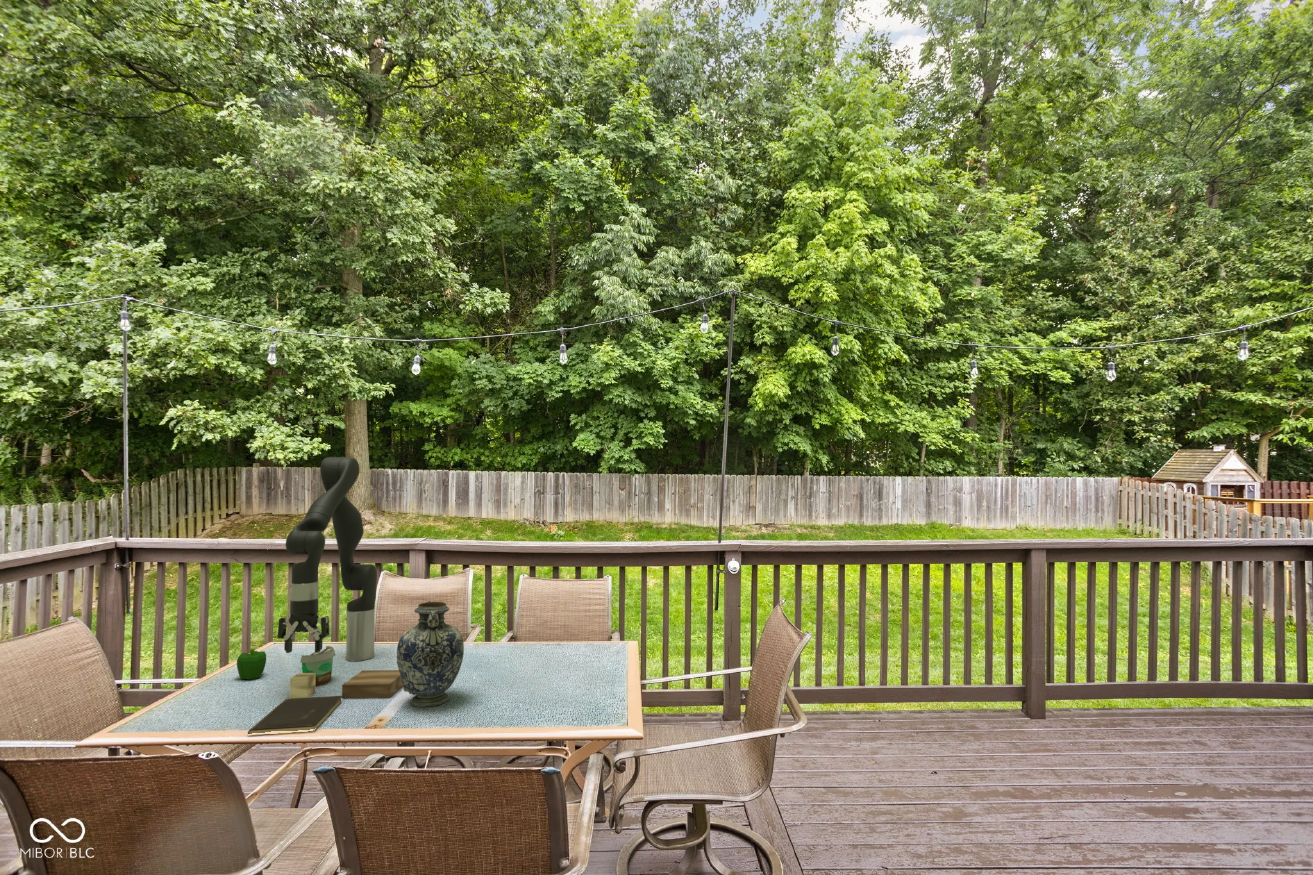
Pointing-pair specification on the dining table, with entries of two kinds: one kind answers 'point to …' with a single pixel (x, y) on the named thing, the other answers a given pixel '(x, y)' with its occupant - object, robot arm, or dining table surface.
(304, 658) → the half round tub
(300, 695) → the maple block
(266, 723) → the hardcover book
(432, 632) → the decorative vase
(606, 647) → the dining table surface
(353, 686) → the block
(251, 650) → the bell pepper
